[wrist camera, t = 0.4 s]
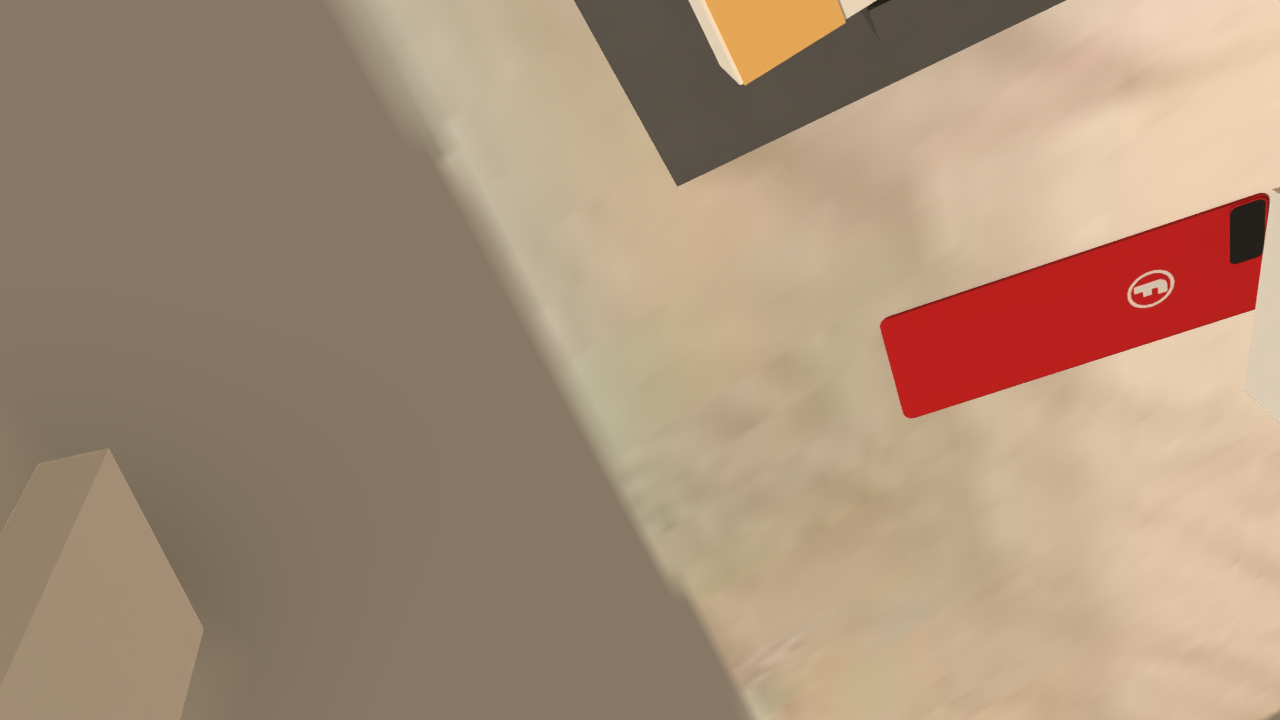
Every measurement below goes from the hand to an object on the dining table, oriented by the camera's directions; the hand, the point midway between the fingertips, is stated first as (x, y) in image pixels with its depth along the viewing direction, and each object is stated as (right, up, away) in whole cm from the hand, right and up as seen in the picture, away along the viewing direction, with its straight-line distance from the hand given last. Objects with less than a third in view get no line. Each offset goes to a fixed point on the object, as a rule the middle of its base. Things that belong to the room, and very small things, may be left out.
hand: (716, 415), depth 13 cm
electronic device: (+16, +3, +32) cm, 36 cm away
